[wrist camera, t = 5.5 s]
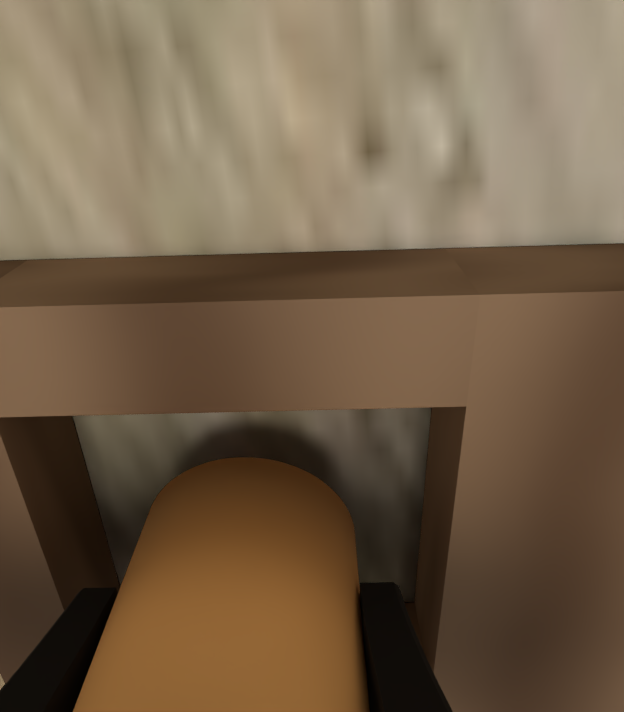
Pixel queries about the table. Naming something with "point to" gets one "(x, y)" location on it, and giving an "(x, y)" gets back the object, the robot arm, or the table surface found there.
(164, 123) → the table surface
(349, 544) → the orange rounded capsule
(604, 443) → the brown square frame
